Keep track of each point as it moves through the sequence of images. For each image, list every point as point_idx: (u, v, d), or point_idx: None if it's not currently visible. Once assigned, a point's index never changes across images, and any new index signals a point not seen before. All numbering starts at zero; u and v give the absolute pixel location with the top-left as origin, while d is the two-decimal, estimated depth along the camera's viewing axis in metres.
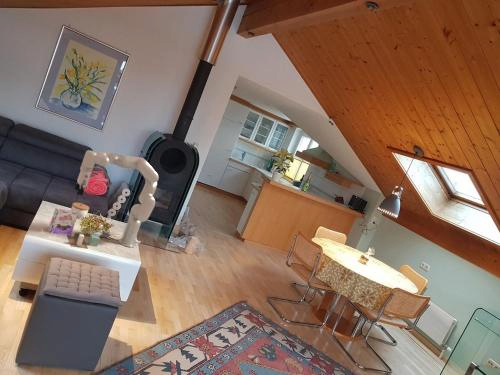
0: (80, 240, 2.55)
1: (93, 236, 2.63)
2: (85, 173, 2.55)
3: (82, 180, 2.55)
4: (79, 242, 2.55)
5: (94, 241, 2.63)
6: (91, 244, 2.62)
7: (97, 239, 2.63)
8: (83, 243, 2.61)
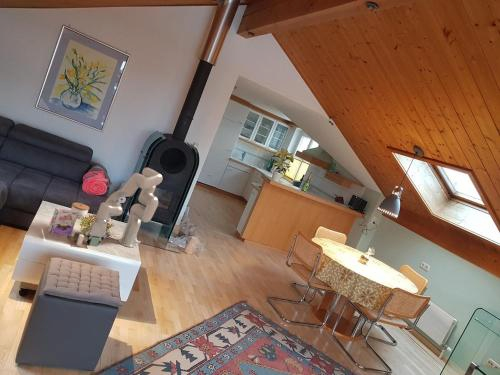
0: (80, 240, 2.55)
1: (93, 236, 2.63)
2: (106, 225, 2.65)
3: None
4: (79, 242, 2.55)
5: (94, 241, 2.63)
6: (91, 244, 2.62)
7: (97, 239, 2.63)
8: (83, 243, 2.61)
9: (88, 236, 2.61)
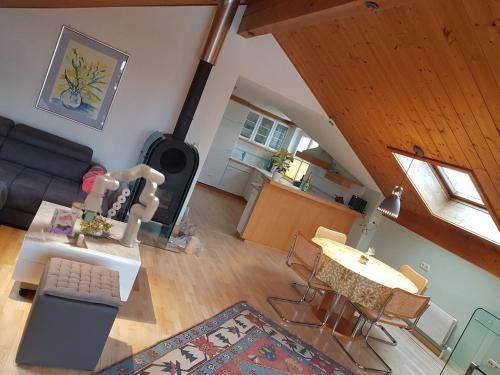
0: (80, 240, 2.55)
1: (88, 211, 2.52)
2: (102, 199, 2.54)
3: (100, 206, 2.54)
4: (79, 242, 2.55)
5: (89, 216, 2.51)
6: (86, 219, 2.51)
7: (92, 214, 2.52)
8: (83, 243, 2.61)
9: (83, 210, 2.50)
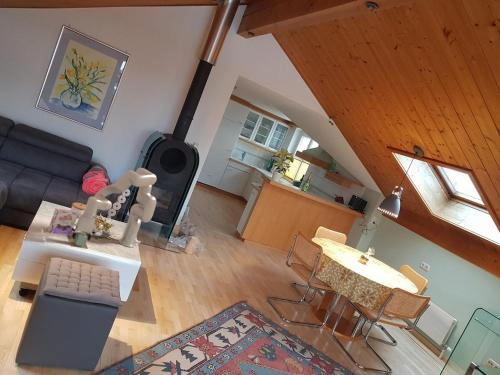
0: None
1: (80, 234, 2.54)
2: None
3: (93, 227, 2.56)
4: None
5: (81, 239, 2.53)
6: (78, 242, 2.53)
7: (84, 237, 2.54)
8: None
9: (74, 229, 2.51)
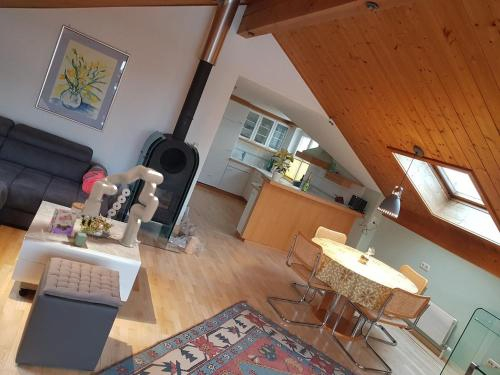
0: None
1: (80, 234, 2.54)
2: (100, 204, 2.54)
3: None
4: None
5: (81, 239, 2.53)
6: (78, 242, 2.53)
7: (84, 237, 2.54)
8: None
9: (82, 216, 2.51)
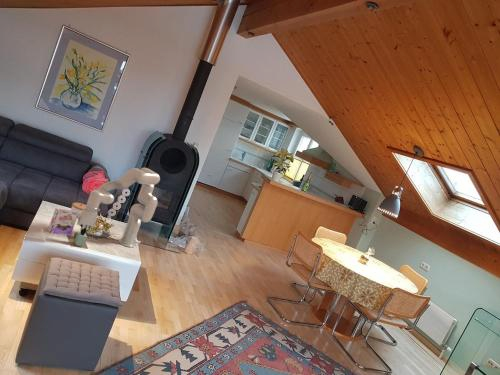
0: None
1: (80, 234, 2.54)
2: None
3: (95, 220, 2.56)
4: None
5: (81, 239, 2.53)
6: (78, 242, 2.53)
7: (84, 237, 2.54)
8: None
9: (81, 226, 2.52)
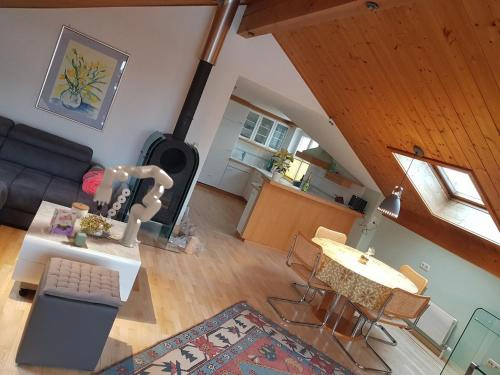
0: None
1: (80, 234, 2.54)
2: None
3: (110, 197, 2.65)
4: None
5: (81, 239, 2.53)
6: (78, 242, 2.53)
7: (84, 237, 2.54)
8: None
9: (97, 203, 2.61)
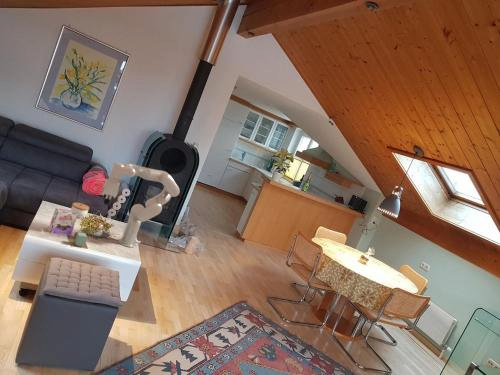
0: None
1: (80, 234, 2.54)
2: (119, 184, 2.73)
3: None
4: None
5: (81, 239, 2.53)
6: (78, 242, 2.53)
7: (84, 237, 2.54)
8: None
9: (104, 196, 2.71)
